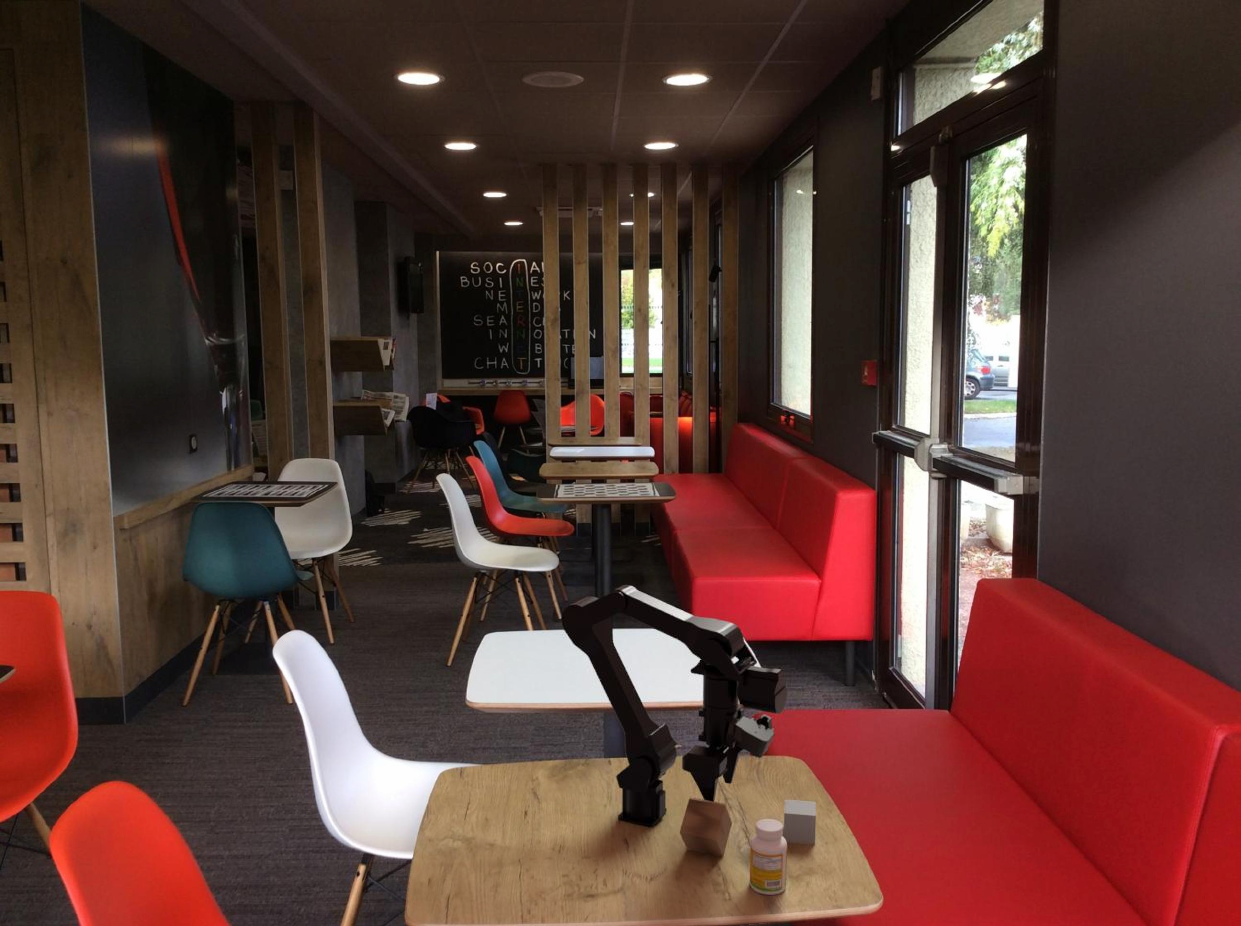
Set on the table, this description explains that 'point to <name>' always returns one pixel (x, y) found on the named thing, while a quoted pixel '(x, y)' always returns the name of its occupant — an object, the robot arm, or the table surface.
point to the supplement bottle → (768, 858)
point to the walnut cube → (706, 826)
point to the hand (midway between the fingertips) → (719, 793)
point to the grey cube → (800, 821)
